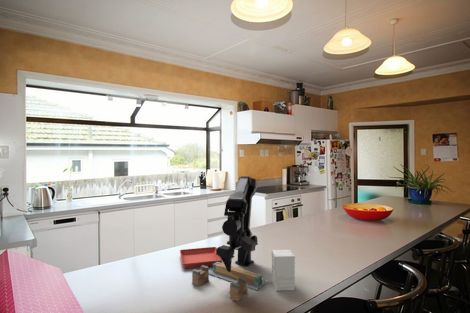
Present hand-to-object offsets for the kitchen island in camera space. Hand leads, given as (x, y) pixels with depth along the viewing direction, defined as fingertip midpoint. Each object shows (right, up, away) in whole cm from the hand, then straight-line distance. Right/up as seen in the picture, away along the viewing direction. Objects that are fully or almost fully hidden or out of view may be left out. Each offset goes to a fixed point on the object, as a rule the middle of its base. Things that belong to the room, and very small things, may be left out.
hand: (236, 267), depth 109 cm
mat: (0, -4, 0) cm, 4 cm away
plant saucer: (-16, -5, +18) cm, 25 cm away
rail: (0, -4, 0) cm, 4 cm away
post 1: (-14, -4, -4) cm, 15 cm away
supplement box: (+18, -5, -6) cm, 19 cm away
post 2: (+1, -4, -14) cm, 15 cm away
